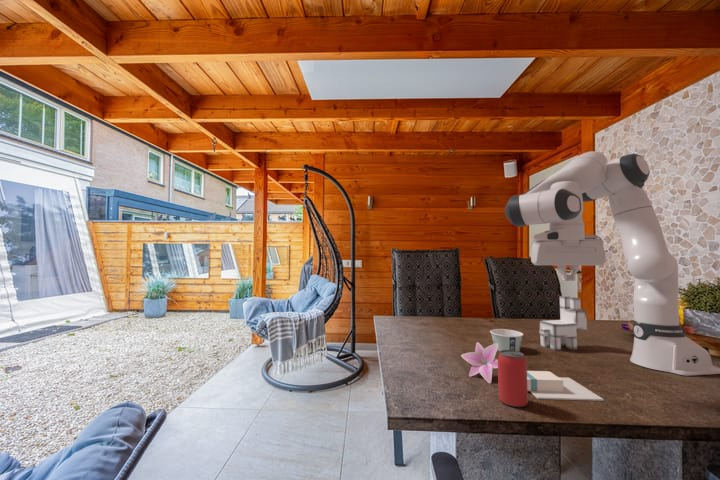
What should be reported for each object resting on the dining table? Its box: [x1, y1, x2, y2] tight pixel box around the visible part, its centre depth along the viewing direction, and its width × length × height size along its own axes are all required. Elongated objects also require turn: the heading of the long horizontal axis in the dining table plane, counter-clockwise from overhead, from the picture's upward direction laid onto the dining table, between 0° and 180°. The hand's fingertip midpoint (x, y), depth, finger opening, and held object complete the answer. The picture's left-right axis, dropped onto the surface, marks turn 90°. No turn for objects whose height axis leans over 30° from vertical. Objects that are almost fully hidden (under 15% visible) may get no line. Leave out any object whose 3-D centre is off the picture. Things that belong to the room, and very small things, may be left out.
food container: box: [489, 328, 524, 352], centre depth 121 cm, size 12×12×6 cm
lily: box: [460, 342, 498, 384], centre depth 94 cm, size 12×12×10 cm
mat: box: [528, 376, 605, 402], centre depth 84 cm, size 16×14×1 cm
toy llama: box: [538, 295, 588, 352], centre depth 124 cm, size 8×18×20 cm, turn 101°
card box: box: [527, 370, 563, 392], centre depth 85 cm, size 3×6×10 cm
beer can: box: [497, 350, 529, 408], centre depth 77 cm, size 7×7×12 cm
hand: (568, 280), depth 93 cm, fingers closed
